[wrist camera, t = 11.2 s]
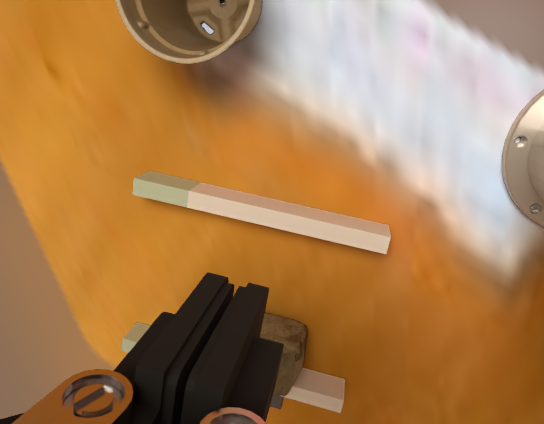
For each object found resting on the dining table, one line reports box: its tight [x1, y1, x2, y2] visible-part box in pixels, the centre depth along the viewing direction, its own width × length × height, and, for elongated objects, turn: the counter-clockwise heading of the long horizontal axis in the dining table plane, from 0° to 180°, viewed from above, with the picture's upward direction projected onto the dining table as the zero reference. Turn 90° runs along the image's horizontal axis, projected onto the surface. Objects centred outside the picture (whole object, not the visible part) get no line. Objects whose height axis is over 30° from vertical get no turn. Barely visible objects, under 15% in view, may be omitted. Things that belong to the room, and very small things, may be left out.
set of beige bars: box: [122, 171, 391, 413], centre depth 41 cm, size 22×18×3 cm
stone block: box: [260, 313, 308, 396], centre depth 41 cm, size 6×12×5 cm, turn 79°
